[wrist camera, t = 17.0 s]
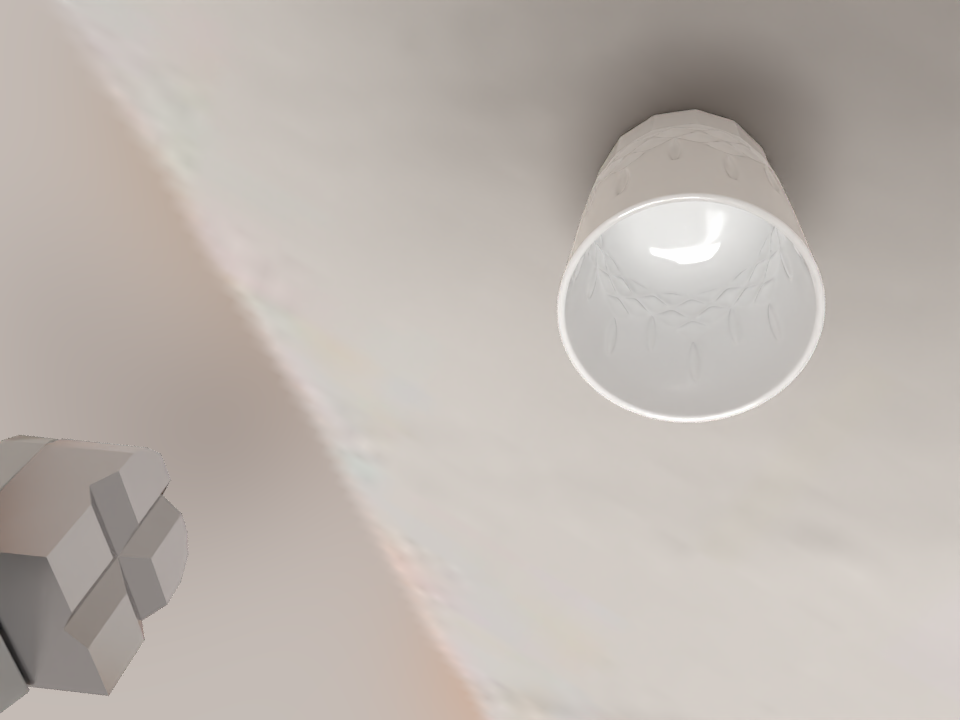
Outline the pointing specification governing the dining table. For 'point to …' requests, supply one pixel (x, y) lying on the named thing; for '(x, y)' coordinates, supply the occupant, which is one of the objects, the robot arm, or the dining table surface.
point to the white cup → (689, 275)
